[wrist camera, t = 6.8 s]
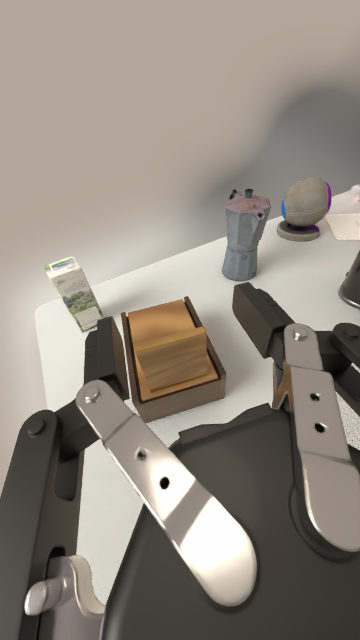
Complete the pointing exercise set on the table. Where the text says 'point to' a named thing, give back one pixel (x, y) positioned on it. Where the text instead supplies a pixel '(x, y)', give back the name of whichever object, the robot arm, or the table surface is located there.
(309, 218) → the webcam
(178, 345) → the lid
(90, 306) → the syrup box
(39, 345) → the table surface
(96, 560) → the table surface
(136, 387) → the box
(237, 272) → the moka pot
